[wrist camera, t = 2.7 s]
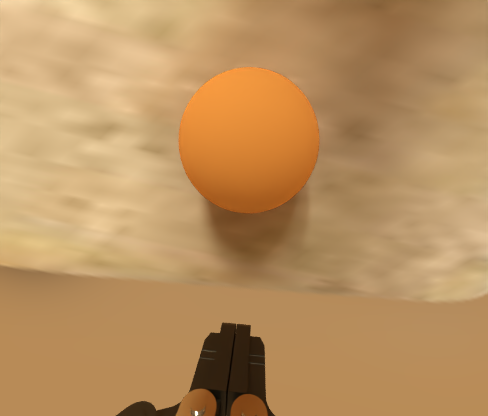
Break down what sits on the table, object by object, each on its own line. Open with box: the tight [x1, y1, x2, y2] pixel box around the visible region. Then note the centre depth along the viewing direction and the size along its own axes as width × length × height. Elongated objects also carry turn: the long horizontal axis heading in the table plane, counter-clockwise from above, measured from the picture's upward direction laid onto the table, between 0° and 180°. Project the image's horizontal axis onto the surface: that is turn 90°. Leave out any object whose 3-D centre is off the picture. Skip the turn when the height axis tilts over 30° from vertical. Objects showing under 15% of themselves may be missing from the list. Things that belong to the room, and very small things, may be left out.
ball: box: [179, 67, 319, 213], centre depth 10 cm, size 6×6×6 cm
